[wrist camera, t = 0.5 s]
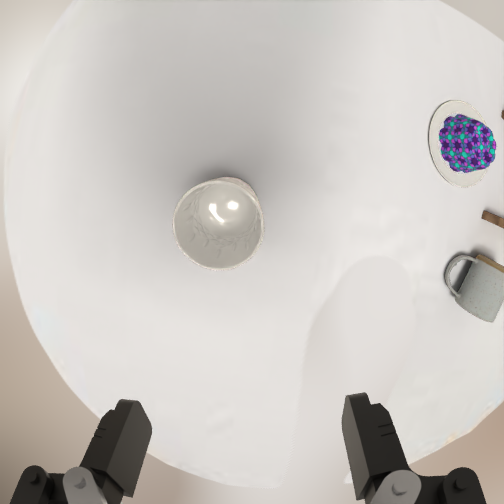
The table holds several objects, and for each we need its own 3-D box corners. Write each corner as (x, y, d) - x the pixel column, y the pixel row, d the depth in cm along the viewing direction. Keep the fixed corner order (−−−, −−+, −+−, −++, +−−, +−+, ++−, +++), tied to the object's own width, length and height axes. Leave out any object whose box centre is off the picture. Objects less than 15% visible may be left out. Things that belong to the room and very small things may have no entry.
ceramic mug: (495, 259, 36) (523, 278, 29) (474, 304, 39) (499, 327, 31) (454, 240, 35) (485, 259, 28) (432, 291, 38) (458, 317, 31)
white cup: (207, 162, 33) (187, 168, 24) (272, 185, 34) (278, 200, 24) (187, 225, 36) (162, 253, 26) (248, 246, 36) (245, 282, 27)
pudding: (491, 182, 32) (513, 188, 27) (431, 191, 34) (453, 198, 29) (481, 102, 29) (504, 100, 24) (418, 100, 30) (440, 95, 25)
